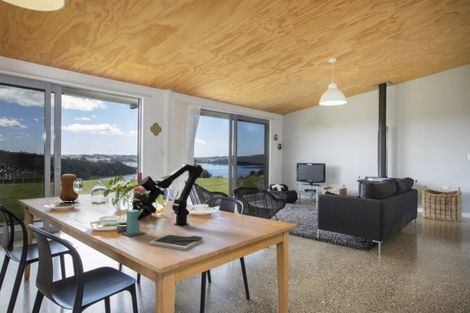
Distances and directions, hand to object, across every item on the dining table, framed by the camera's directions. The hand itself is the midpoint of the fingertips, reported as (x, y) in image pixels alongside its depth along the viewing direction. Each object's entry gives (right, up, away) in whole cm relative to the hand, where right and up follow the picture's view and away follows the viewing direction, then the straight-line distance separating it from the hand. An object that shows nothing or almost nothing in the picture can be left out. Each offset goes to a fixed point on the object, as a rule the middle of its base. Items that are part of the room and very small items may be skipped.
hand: (133, 218), depth 152 cm
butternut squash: (-90, -6, +93) cm, 130 cm away
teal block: (0, -8, 0) cm, 8 cm away
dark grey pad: (0, -8, 0) cm, 8 cm away
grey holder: (-8, -8, +9) cm, 14 cm away
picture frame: (+26, -10, -14) cm, 31 cm away
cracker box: (-10, -8, +43) cm, 45 cm away
